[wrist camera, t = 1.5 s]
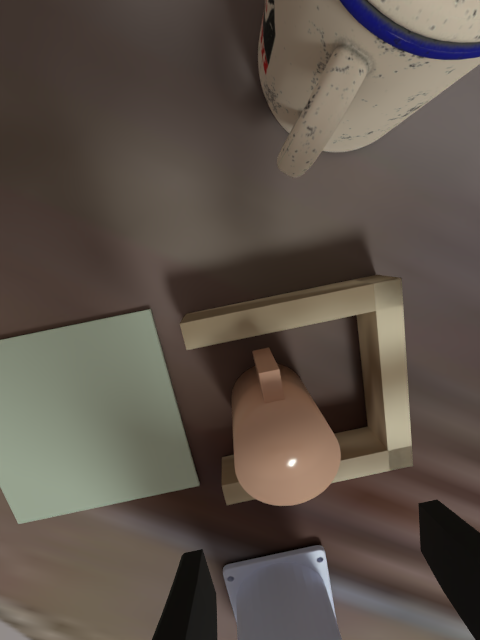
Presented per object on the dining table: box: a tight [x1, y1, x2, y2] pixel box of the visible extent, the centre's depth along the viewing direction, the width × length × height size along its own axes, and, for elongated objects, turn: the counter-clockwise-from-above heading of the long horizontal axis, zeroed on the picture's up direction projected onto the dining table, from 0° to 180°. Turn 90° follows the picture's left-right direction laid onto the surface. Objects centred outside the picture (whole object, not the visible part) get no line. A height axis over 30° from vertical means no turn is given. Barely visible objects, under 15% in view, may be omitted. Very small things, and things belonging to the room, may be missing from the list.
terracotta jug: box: [231, 347, 341, 506], centre depth 16 cm, size 7×5×6 cm
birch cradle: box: [180, 275, 413, 505], centre depth 18 cm, size 12×12×2 cm
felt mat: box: [0, 309, 200, 524], centre depth 18 cm, size 13×13×1 cm
